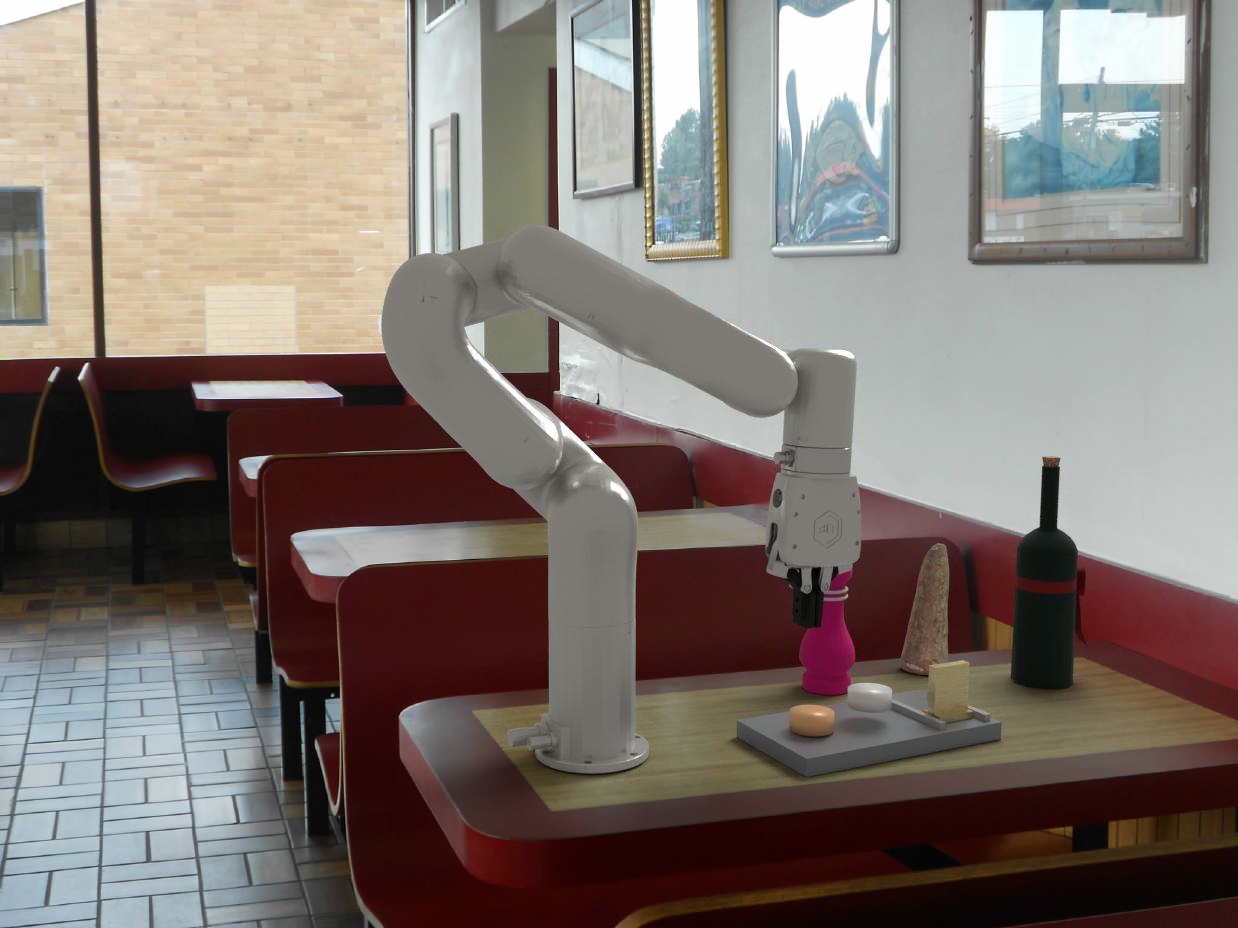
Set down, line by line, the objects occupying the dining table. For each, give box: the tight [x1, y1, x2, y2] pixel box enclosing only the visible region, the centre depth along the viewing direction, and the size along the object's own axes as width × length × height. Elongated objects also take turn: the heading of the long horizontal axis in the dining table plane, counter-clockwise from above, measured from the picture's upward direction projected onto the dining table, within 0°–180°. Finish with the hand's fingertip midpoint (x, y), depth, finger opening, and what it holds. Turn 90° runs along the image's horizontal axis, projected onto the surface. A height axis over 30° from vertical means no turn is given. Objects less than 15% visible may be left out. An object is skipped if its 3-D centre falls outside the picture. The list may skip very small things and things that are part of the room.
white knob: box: [846, 682, 893, 713], centre depth 145 cm, size 5×5×2 cm
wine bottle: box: [1010, 455, 1088, 690], centre depth 167 cm, size 8×10×30 cm
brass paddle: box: [922, 659, 973, 723], centre depth 146 cm, size 5×3×6 cm, turn 116°
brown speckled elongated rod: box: [900, 542, 950, 676], centre depth 172 cm, size 6×18×6 cm
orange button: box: [788, 704, 835, 736], centre depth 142 cm, size 5×5×2 cm
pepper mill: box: [798, 568, 856, 696], centre depth 164 cm, size 7×7×20 cm
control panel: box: [736, 689, 1003, 778], centre depth 145 cm, size 27×14×3 cm, turn 116°
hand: (806, 624), depth 140 cm, fingers closed
